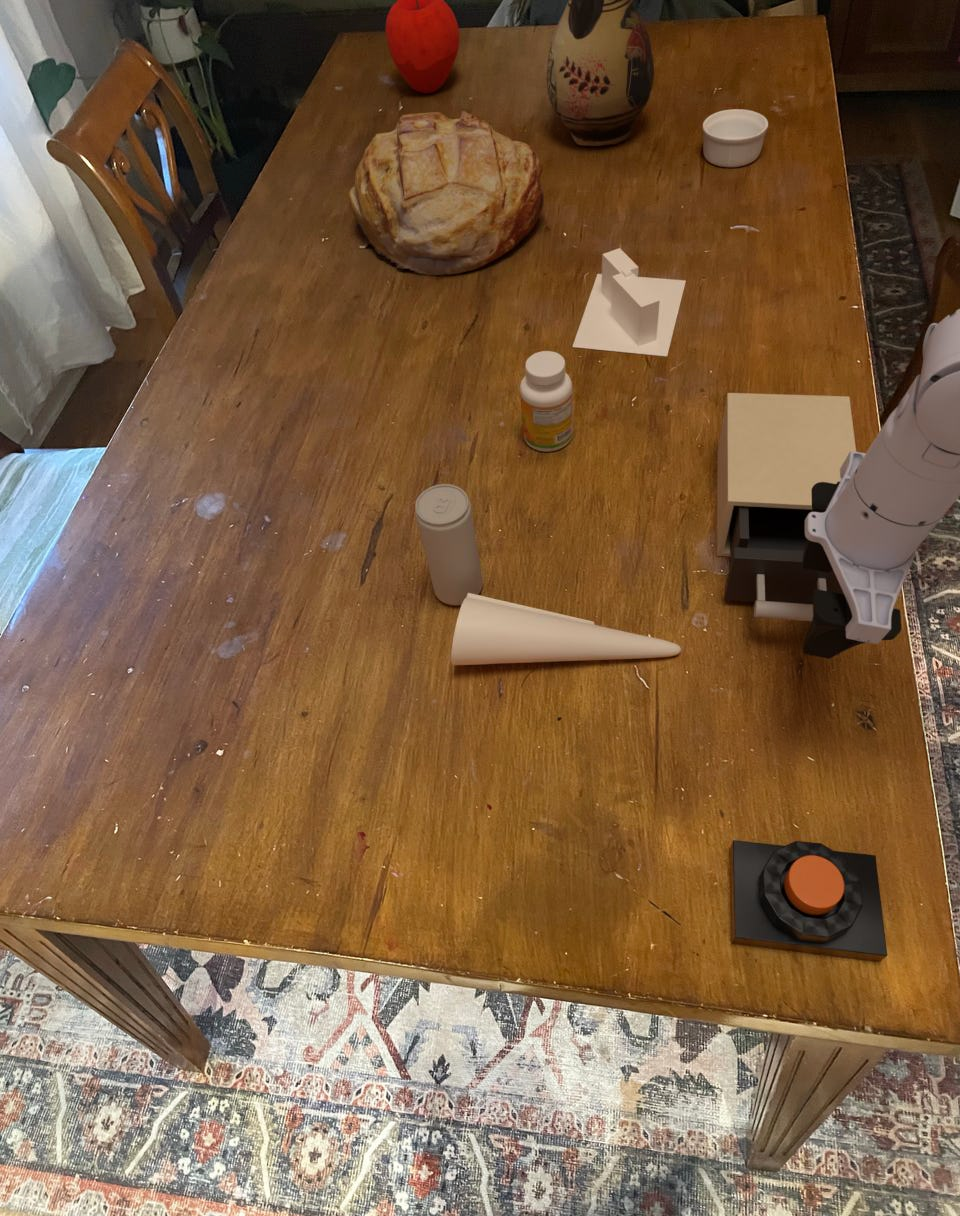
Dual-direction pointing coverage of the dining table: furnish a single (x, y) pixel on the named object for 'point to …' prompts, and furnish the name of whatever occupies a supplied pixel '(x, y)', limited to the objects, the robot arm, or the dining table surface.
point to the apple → (422, 42)
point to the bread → (445, 193)
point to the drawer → (773, 563)
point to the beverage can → (449, 542)
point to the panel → (781, 925)
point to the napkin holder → (629, 309)
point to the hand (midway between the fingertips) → (816, 608)
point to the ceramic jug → (600, 70)
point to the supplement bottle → (546, 402)
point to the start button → (814, 885)
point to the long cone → (541, 636)
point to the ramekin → (733, 137)
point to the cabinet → (778, 452)
